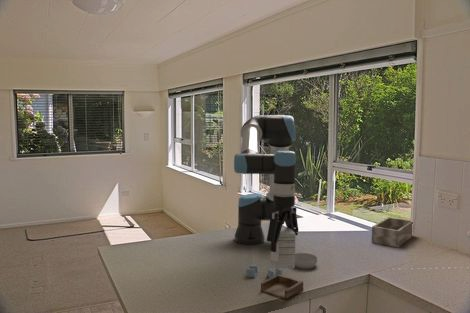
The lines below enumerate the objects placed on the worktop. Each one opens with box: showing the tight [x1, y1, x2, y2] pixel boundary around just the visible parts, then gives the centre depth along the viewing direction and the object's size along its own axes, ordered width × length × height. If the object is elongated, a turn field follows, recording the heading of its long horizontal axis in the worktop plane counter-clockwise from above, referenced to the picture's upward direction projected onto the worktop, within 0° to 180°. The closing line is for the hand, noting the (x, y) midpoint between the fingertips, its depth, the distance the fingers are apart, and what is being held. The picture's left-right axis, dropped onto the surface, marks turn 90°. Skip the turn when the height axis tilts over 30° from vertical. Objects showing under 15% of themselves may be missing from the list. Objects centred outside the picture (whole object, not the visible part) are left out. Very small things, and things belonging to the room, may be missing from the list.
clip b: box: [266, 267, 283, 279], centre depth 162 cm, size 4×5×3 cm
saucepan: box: [295, 252, 319, 270], centre depth 177 cm, size 11×18×4 cm, turn 71°
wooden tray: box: [260, 274, 304, 301], centre depth 149 cm, size 11×11×3 cm
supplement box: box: [270, 227, 296, 270], centre depth 148 cm, size 7×7×13 cm
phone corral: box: [371, 216, 413, 248], centre depth 214 cm, size 13×25×8 cm, turn 141°
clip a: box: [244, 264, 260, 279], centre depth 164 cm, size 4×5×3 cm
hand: (282, 256), depth 148 cm, fingers closed on supplement box, 10 cm apart
